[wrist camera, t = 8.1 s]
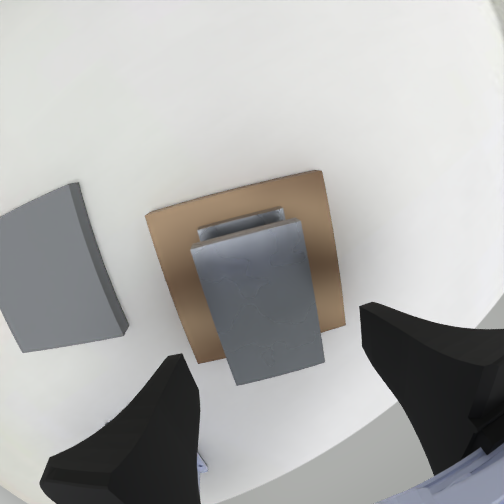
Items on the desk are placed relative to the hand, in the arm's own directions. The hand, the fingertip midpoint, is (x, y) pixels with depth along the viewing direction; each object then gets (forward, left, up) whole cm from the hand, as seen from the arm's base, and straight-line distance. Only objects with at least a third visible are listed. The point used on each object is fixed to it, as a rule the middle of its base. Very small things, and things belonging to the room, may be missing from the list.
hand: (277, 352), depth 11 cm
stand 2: (0, 0, -10) cm, 10 cm away
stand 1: (+4, +15, -10) cm, 19 cm away
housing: (0, 0, -8) cm, 8 cm away
